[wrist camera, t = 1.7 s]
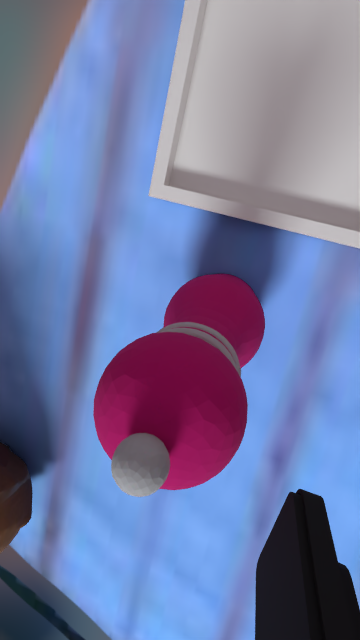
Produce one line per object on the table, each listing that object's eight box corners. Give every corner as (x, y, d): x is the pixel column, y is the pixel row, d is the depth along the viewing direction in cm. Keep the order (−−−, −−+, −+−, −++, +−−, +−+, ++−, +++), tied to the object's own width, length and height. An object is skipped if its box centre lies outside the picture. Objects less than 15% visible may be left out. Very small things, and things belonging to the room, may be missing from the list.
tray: (505, -50, 18) (536, -86, 16) (374, 252, 24) (384, 254, 21) (211, -78, 21) (206, -111, 19) (157, 198, 26) (148, 195, 24)
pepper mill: (198, 253, 27) (44, 319, 8) (280, 288, 26) (317, 449, 7) (169, 328, 29) (1, 509, 11) (243, 362, 28) (200, 623, 10)
